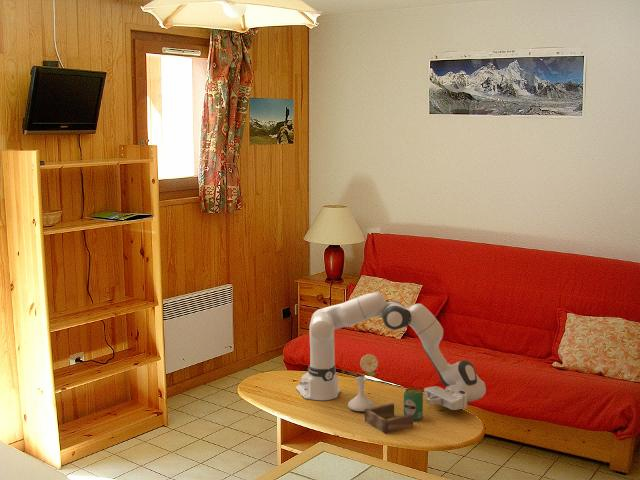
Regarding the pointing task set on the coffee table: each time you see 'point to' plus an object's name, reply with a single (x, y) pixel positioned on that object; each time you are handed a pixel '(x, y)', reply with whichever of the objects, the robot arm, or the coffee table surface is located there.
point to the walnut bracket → (386, 426)
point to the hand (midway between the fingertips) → (428, 401)
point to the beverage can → (413, 403)
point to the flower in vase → (361, 400)
